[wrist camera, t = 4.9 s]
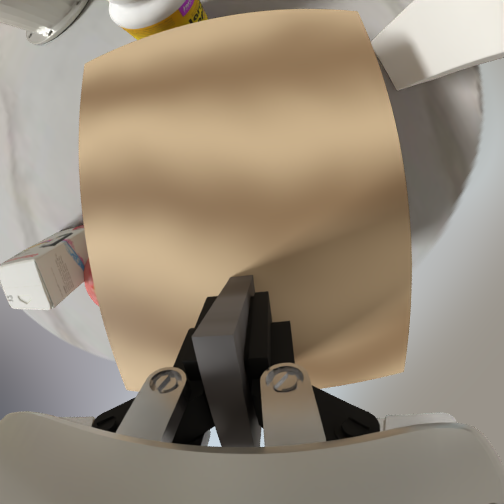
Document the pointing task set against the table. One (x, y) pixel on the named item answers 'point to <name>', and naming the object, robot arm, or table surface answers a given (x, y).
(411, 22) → the milk
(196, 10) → the supplement bottle
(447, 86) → the table surface
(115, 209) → the lid
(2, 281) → the ink box
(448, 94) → the table surface
